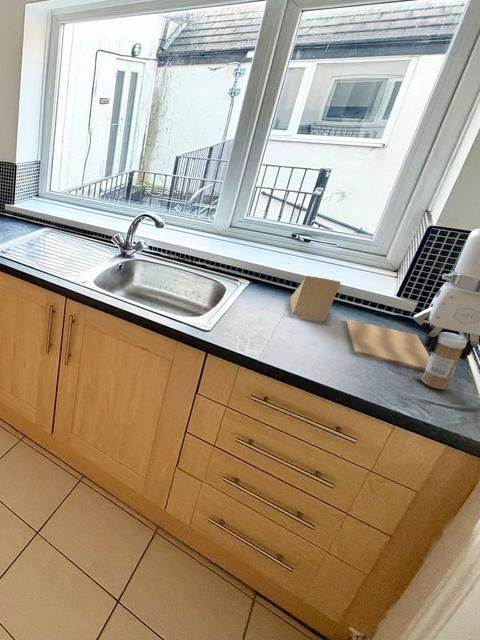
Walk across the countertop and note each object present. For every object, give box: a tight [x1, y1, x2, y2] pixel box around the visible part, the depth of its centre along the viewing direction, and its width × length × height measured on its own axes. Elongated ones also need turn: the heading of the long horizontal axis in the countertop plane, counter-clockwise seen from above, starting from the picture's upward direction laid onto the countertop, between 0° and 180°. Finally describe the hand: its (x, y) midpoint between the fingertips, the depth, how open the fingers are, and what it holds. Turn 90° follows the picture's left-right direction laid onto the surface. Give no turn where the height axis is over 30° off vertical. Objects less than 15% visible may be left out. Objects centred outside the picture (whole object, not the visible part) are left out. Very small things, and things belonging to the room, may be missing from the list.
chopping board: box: [345, 318, 431, 372], centre depth 119 cm, size 16×22×2 cm
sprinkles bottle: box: [421, 331, 467, 390], centre depth 100 cm, size 5×5×14 cm
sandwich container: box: [290, 275, 341, 322], centre depth 136 cm, size 9×15×15 cm, turn 147°
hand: (444, 352), depth 100 cm, fingers closed on sprinkles bottle, 4 cm apart
